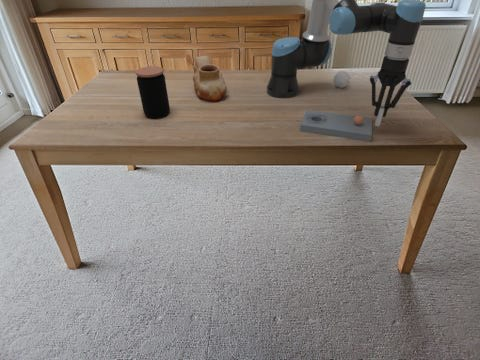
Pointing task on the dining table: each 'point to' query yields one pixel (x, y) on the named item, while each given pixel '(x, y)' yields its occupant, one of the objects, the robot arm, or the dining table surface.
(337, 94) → the dining table surface
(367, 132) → the plate
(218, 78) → the ceramic vessel
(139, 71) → the coffee jar
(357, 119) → the ball
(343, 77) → the geometric ball
